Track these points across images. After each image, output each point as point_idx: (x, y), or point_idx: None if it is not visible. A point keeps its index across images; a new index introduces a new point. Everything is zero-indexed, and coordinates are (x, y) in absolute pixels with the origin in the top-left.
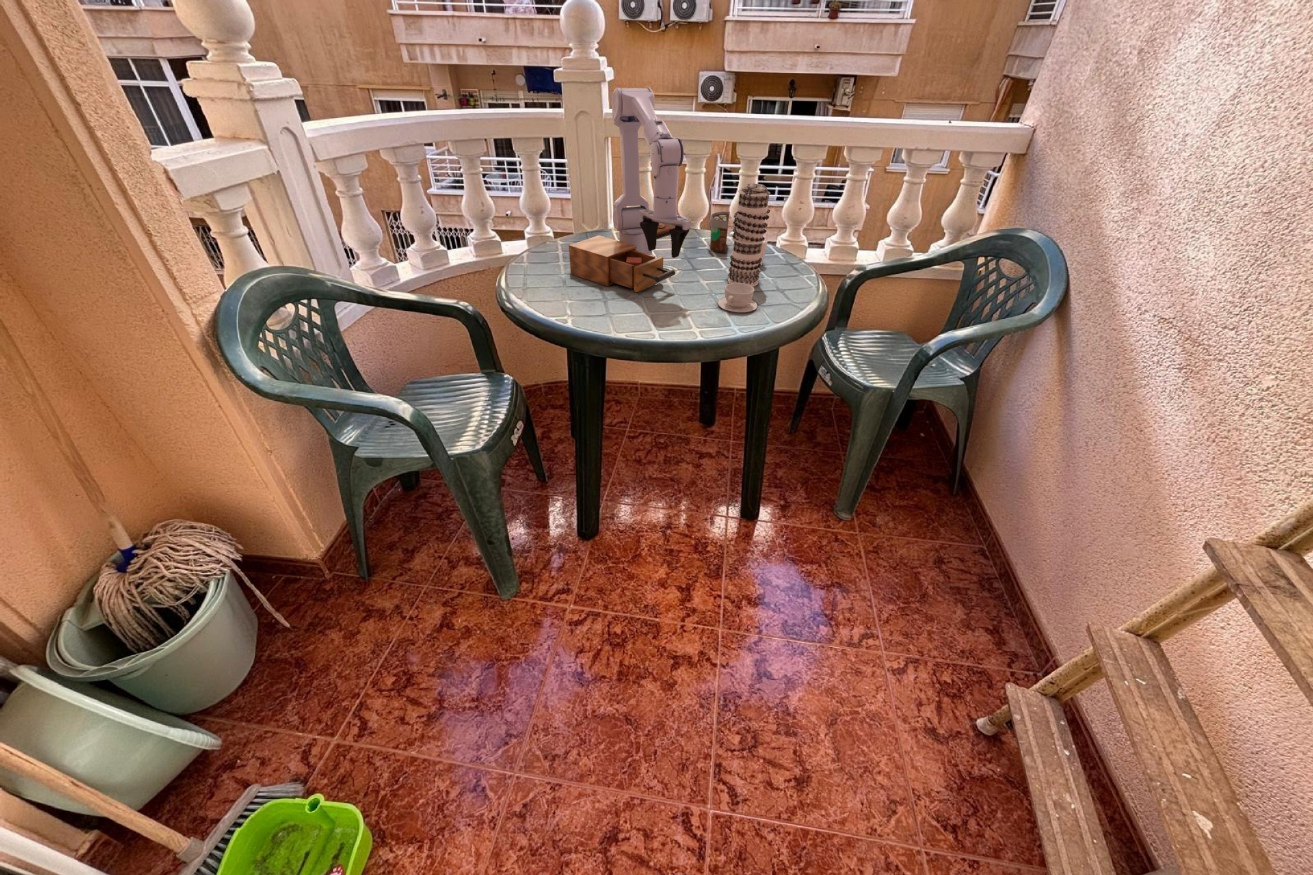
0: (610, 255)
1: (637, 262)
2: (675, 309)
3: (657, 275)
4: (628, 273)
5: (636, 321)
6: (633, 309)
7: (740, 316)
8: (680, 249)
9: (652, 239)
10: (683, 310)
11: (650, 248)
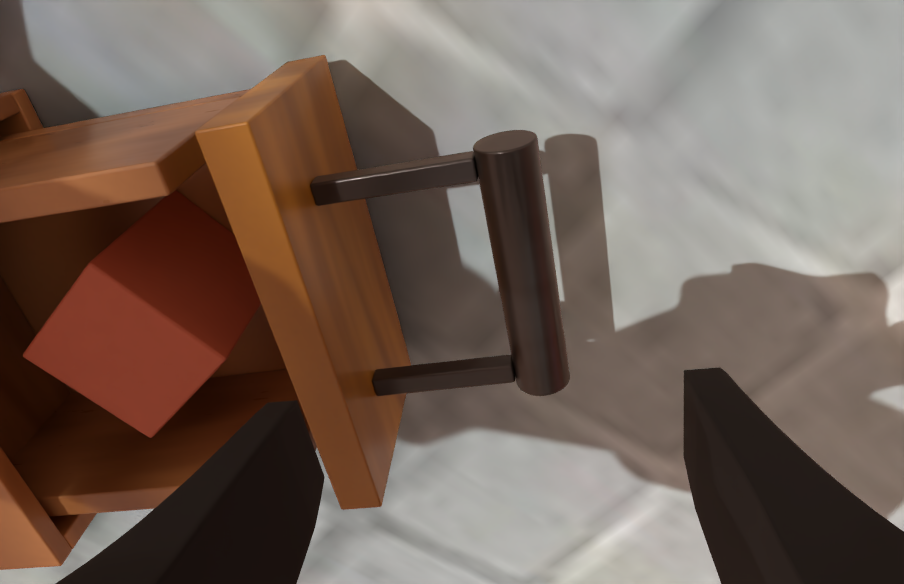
0: (36, 533)
1: (204, 378)
2: (786, 328)
3: (330, 163)
4: None
5: (701, 562)
6: (573, 490)
7: None
8: (767, 419)
9: (257, 560)
10: (847, 300)
11: (316, 505)
